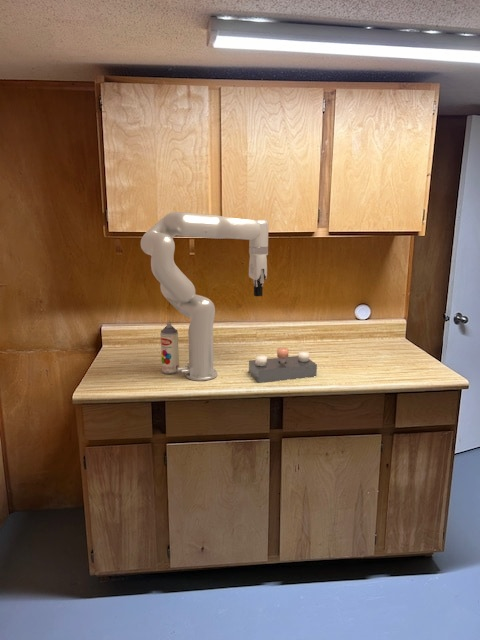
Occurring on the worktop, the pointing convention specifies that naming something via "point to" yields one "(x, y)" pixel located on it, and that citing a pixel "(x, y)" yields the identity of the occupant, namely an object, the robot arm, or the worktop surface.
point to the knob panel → (282, 369)
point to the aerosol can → (169, 350)
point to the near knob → (261, 360)
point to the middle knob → (282, 354)
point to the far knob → (303, 356)
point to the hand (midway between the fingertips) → (258, 295)
